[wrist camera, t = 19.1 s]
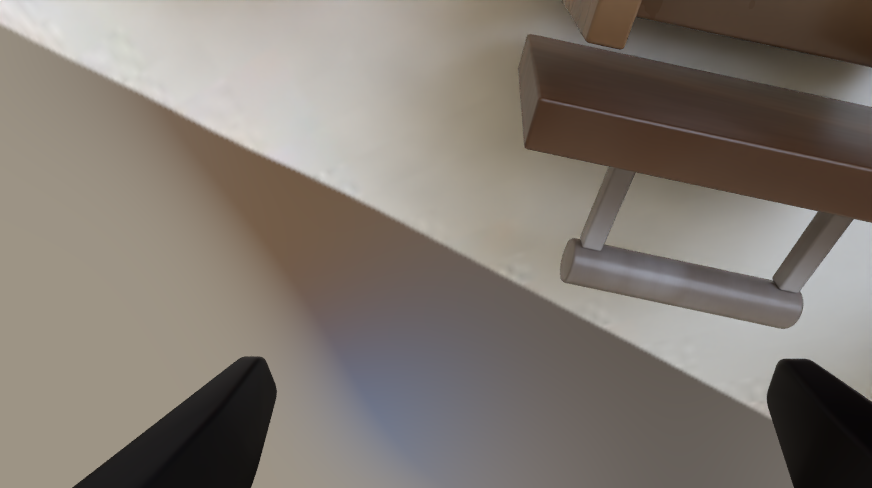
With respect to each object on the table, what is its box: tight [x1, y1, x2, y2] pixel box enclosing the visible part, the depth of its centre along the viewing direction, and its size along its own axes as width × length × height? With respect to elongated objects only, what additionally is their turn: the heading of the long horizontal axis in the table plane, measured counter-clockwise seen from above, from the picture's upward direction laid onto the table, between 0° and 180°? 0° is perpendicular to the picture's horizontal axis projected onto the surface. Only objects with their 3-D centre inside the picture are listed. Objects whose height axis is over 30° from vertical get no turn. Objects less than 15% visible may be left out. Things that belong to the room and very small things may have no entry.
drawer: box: [518, 0, 872, 329], centre depth 12 cm, size 17×12×7 cm
